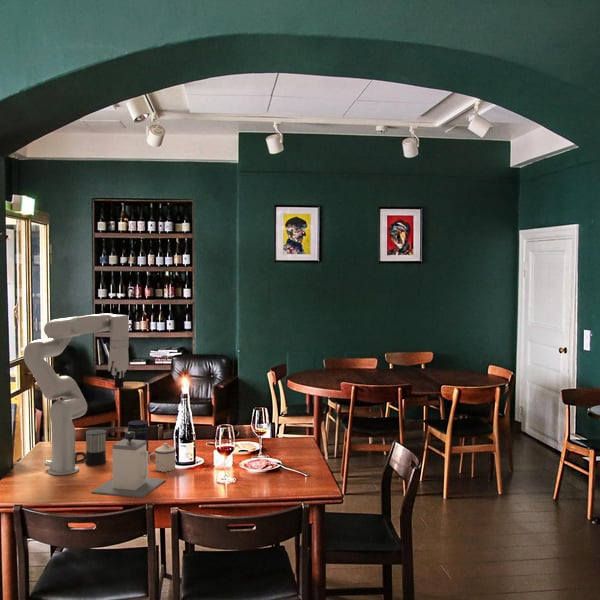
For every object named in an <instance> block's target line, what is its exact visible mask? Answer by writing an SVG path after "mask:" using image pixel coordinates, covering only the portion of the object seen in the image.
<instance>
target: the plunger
mask: <svg viewBox="0 0 600 600" xmlns="http://www.w3.org/2000/svg"><path fill="white" fill-rule="evenodd" d="M124 439H127V440H128V443H132V439H135V432H133V431H129V432H128V431H125V432H124Z"/></svg>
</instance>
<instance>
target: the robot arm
mask: <svg viewBox="0 0 600 600" xmlns="http://www.w3.org/2000/svg"><path fill="white" fill-rule="evenodd" d="M129 320H130V319H129V315H127V314H113V313H107V312H106V313H99V314H98V313H97V314H95V313H94V314H89V315H81V316H70V317H63V318H62V317H61V318H55V319H51V320H49V321H48V322H46V324H45V325H44V326H43V327H44V328H43V331H44V335H46V337H48V338H41V339H40V338H39V339H36V340H35V339H34V340H32V341H30V342H29V343H27V344H26V345H25V348H24V350H23V360H24V363H25V366H26V367H27V369H28V370H29V371H30V373H31V374H32V376H33V377H34V380H35V382H36V383H37V386H38V387H39V390H40V391H41V393H42V395H43V396H44V398H45V399H47V400H49V401H54V400H55V402H54V403H52V404H51V406H50V408H49V417H50V421H51V437H52V439H51V442H52V443H51V444H52V445H51V460H49V459H46V460H45V462H44V466H45V467H49V468H48V470H47V472H48V474H49V475H52V476H65V475H66V476H68V475H72V474H75V473H77V472H79V469H80V468H79V466H78V465H76V463H75V453H76V429H75V425H74V423H73V421H72V420H74V419H77V418H78V419H79V418H80V417H82V416H84V415H86V413H87V411H88V403H87V401H86V399H85V397H84V394H83V393H82V391H81V389H80V387H79V386H78V384H77V382H76V381H75V379H73V378H72V377H71V376H68V375H60V376H59V375H57V373H56V372H55V370H54V367H53V366H52V365H50V363H49V362H47V361H46V360H45V359H47V358H48V359H49V358H54V357H57V356H59V355H61V354H63V352H64V350H65V349H66V348H67V346H68V345H69V343H70V342H71V340H72V339H73V337H79V336H81V335H87V334H95V333H101V332H109V334H110V335H109V339H110V340H109V350H108V351H109V353H108V363H107V371H108V372H111V375H112V376H113V378H114V389H123V388H124V377H125V373H126V372H127V370H128V369H129V363H130V362H129V359H130V358H129V347H130V346H129V344H130V343H129V340H130V339H129V337H130V335H129V333H130V330H129V329H130V323H129V322H130V321H129ZM58 399H59V400H58ZM56 400H57V401H56Z"/></svg>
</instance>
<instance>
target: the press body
mask: <svg viewBox="0 0 600 600" xmlns="http://www.w3.org/2000/svg"><path fill="white" fill-rule="evenodd" d="M146 444H147V441H146V440H133V439H132V443H128V440H127V439H125V438H123V439H121V440H119V441H118V442H115V443H114V444H112V474H111V475H112V476H111V477H112V478H111V479H112V488H117V489H128V490H136V489H138V488H139V487H141V486H142V485H143V484H145V483H146V479H147V478H149V450H148V451H146Z"/></svg>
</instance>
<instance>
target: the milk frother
mask: <svg viewBox="0 0 600 600" xmlns="http://www.w3.org/2000/svg"><path fill="white" fill-rule="evenodd" d="M85 434H86V435H85V436H86V438H85V439H86V441H85V444H86V446H85V447H86V448H85V450H86V451H85V452H83V451H77V452H75V464H76V463H77V464H79V463H83V462H84V461H85V463H84V464H85V465H86V466H89V467H97V466H98V465H100V466H103V464H104V465H105V464H107V457H106V456H107V455H106V451H107V450H106V449H107V448H106V445H107V444H106V442H107V441H106V440H107V439H106V438H107V437H106V434H107V430H106V429H103V428H102V429H101V428H100V429H98V428H97V429H89V430H86V431H85ZM78 456H82V457H83V458H81V459H78ZM98 467H99V466H98Z"/></svg>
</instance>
